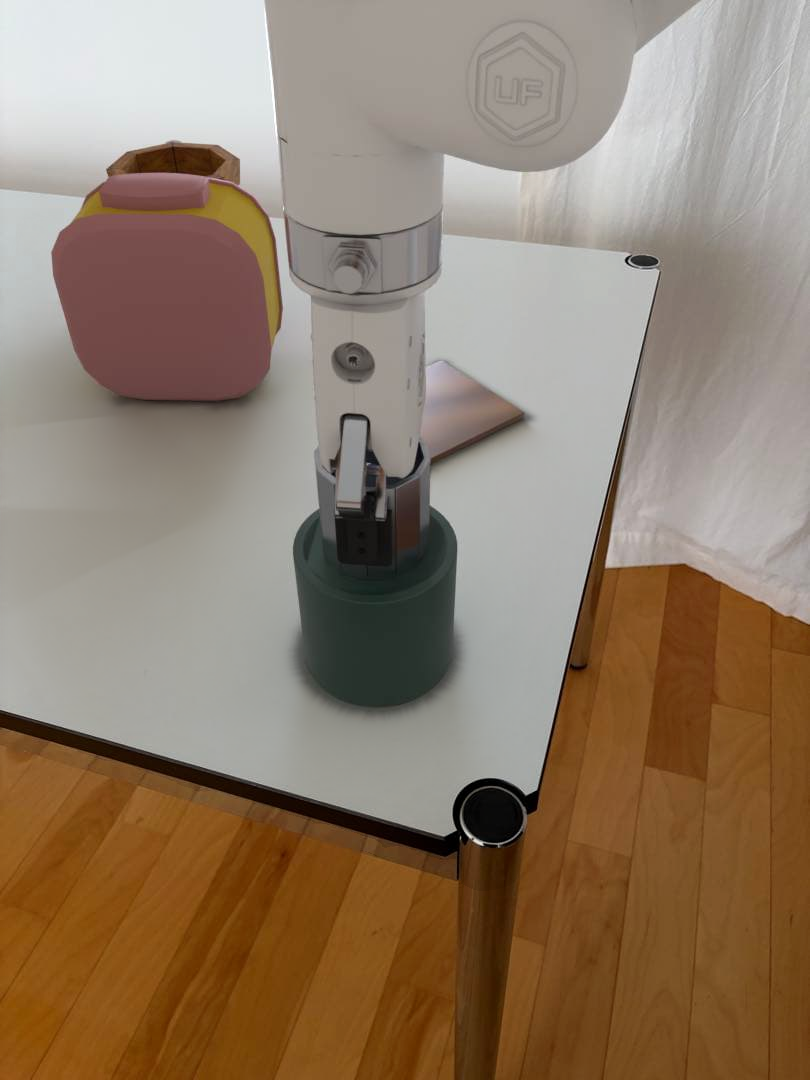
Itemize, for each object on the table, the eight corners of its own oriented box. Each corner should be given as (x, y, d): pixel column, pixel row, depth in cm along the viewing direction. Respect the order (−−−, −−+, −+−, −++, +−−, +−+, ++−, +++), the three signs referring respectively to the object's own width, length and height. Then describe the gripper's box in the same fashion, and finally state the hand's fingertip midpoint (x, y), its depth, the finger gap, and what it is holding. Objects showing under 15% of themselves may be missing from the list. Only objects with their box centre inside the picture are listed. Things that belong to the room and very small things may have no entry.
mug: (261, 321, 98) (244, 183, 88) (135, 334, 96) (103, 194, 86) (247, 246, 112) (231, 119, 102) (137, 256, 110) (109, 128, 100)
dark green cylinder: (483, 656, 63) (491, 552, 56) (364, 734, 58) (358, 630, 51) (391, 575, 69) (389, 472, 62) (276, 639, 64) (261, 535, 57)
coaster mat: (524, 417, 84) (524, 412, 84) (426, 466, 79) (426, 461, 79) (441, 365, 91) (441, 359, 91) (345, 406, 86) (345, 401, 85)
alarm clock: (289, 350, 94) (270, 160, 81) (275, 409, 86) (251, 209, 72) (113, 348, 94) (66, 158, 81) (82, 407, 86) (24, 207, 73)
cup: (448, 548, 56) (452, 459, 52) (364, 596, 53) (360, 506, 49) (384, 496, 60) (382, 409, 55) (302, 538, 57) (292, 449, 52)
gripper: (425, 335, 37) (421, 628, 49) (454, 177, 49) (445, 440, 61) (245, 325, 37) (285, 618, 49) (320, 172, 50) (337, 434, 62)
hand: (374, 517), depth 55 cm, fingers closed on cup, 6 cm apart
